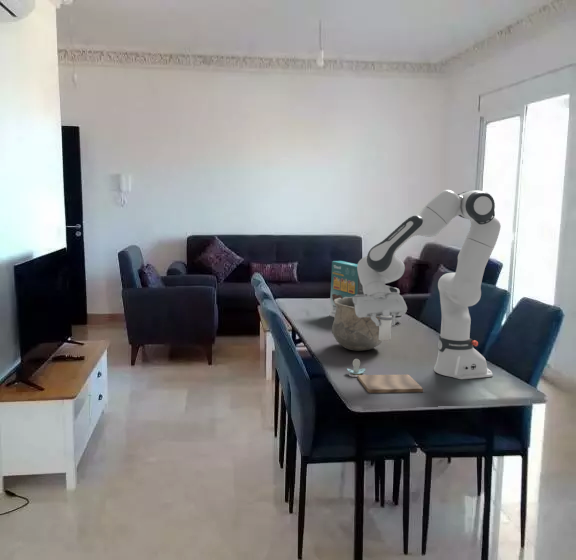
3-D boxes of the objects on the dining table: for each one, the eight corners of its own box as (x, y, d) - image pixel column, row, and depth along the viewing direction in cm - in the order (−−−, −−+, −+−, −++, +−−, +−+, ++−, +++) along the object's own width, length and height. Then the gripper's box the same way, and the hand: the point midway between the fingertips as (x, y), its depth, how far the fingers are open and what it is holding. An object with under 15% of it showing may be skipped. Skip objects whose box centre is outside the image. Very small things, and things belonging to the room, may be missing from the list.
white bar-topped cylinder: (388, 337, 235) (390, 308, 234) (392, 341, 231) (394, 311, 229) (376, 337, 235) (378, 308, 233) (380, 341, 230) (381, 311, 228)
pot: (390, 357, 265) (393, 308, 262) (335, 356, 263) (337, 307, 260) (377, 341, 290) (380, 296, 286) (327, 340, 288) (329, 295, 284)
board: (408, 377, 239) (408, 374, 239) (422, 391, 223) (423, 388, 223) (357, 378, 236) (357, 375, 236) (368, 392, 221) (368, 389, 220)
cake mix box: (364, 323, 325) (367, 266, 320) (355, 324, 322) (358, 267, 317) (338, 314, 343) (340, 260, 338) (329, 315, 340) (332, 261, 335)
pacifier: (367, 378, 237) (363, 372, 243) (368, 362, 236) (364, 357, 242) (348, 378, 237) (345, 372, 242) (349, 362, 235) (346, 357, 241)
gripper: (353, 290, 233) (363, 321, 226) (402, 288, 239) (413, 319, 232) (348, 299, 238) (357, 330, 231) (396, 297, 244) (407, 328, 237)
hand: (386, 325), depth 231 cm, fingers closed on white bar-topped cylinder, 4 cm apart
